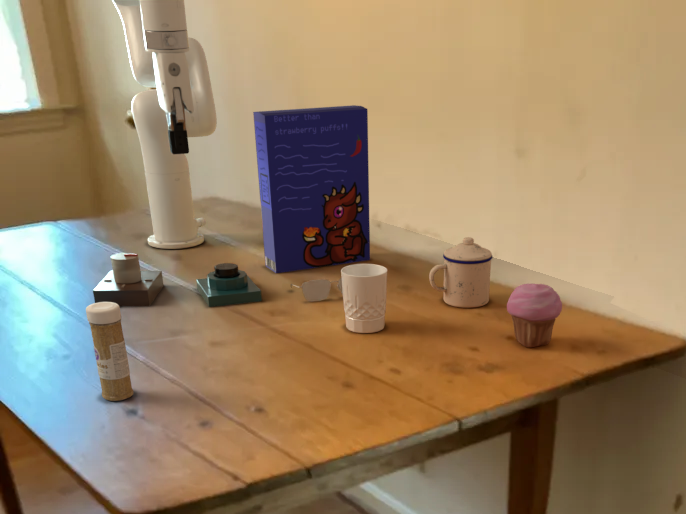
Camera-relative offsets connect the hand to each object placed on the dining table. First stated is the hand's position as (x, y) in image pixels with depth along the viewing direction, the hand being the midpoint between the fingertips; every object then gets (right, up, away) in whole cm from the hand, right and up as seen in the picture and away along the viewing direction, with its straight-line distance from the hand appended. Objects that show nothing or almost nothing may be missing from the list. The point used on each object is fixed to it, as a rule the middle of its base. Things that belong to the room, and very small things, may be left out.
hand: (180, 152), depth 169 cm
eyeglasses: (+28, -25, +6) cm, 38 cm away
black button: (+8, -22, +3) cm, 24 cm away
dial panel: (-10, -26, +4) cm, 28 cm away
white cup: (+35, -35, -11) cm, 51 cm away
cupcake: (+63, -40, -18) cm, 77 cm away
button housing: (+8, -25, +4) cm, 27 cm away
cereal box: (+24, -14, +24) cm, 36 cm away
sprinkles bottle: (0, -52, -37) cm, 63 cm away
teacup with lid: (+52, -28, +1) cm, 59 cm away
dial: (-10, -23, +2) cm, 26 cm away
